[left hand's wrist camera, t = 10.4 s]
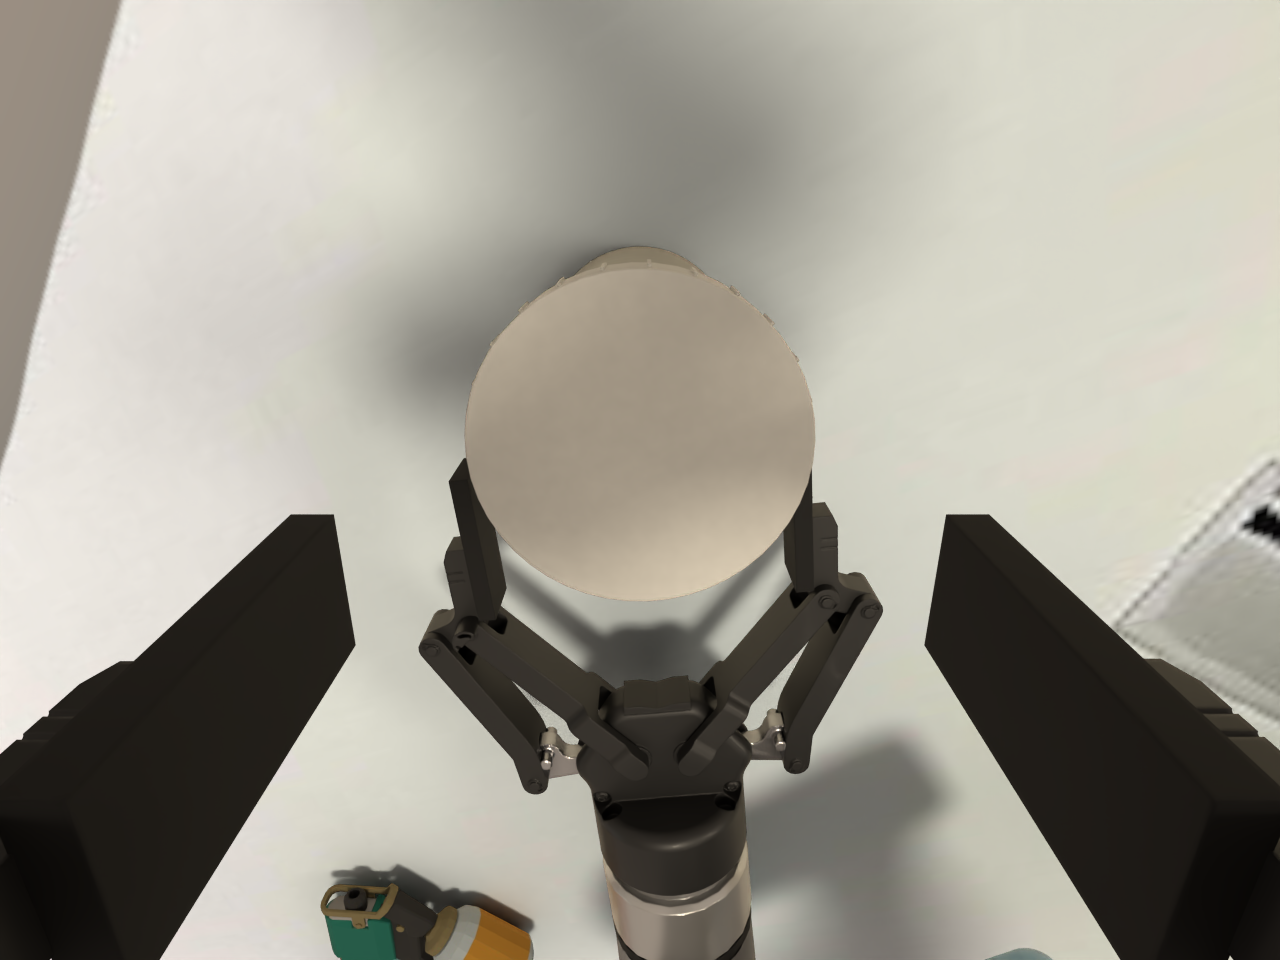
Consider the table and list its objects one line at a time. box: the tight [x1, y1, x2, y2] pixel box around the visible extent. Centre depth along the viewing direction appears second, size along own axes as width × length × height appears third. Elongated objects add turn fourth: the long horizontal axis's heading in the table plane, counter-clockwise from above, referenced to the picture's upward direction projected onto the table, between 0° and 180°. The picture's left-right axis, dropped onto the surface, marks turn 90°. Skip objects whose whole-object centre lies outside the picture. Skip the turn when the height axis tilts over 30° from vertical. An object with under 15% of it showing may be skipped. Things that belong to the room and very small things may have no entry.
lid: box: [465, 259, 815, 601], centre depth 21 cm, size 10×10×2 cm
